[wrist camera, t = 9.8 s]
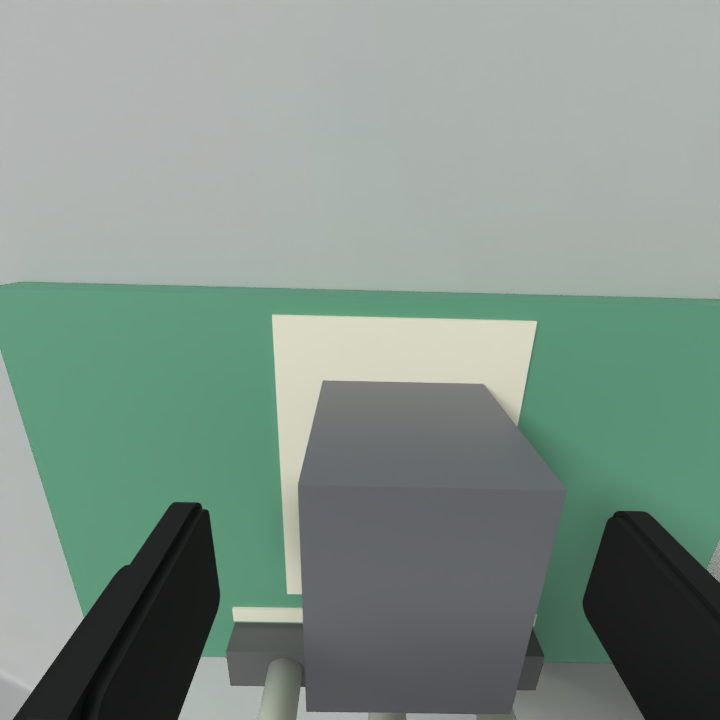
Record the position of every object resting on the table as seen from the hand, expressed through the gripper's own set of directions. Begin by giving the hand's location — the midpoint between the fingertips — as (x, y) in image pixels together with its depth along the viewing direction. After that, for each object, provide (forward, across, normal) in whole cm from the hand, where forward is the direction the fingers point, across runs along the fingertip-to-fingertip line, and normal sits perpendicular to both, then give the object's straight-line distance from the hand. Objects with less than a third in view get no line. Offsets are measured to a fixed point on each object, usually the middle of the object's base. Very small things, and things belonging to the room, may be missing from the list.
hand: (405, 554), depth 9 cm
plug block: (+3, 0, 0) cm, 3 cm away
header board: (+4, 0, +2) cm, 4 cm away
